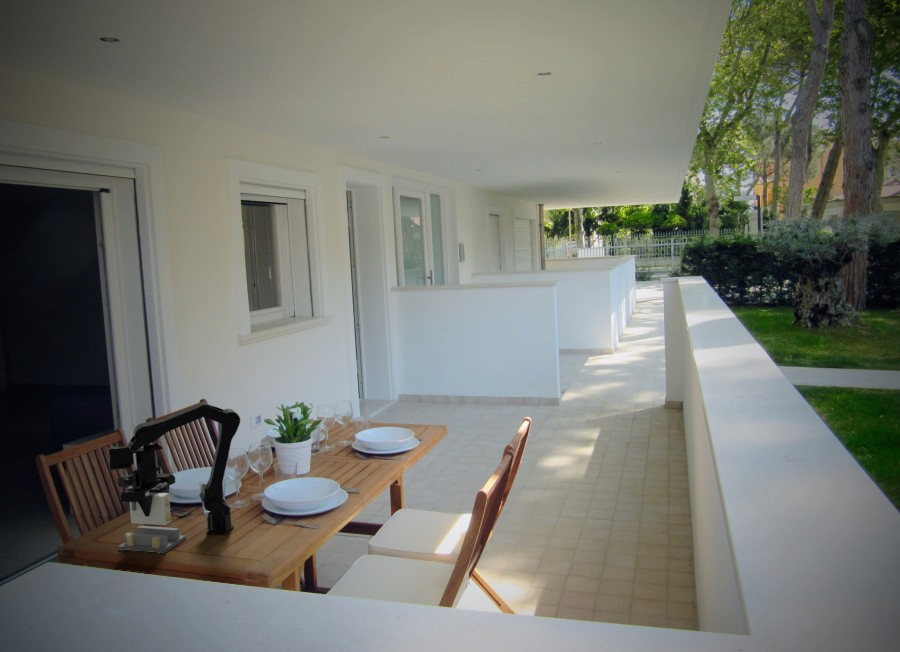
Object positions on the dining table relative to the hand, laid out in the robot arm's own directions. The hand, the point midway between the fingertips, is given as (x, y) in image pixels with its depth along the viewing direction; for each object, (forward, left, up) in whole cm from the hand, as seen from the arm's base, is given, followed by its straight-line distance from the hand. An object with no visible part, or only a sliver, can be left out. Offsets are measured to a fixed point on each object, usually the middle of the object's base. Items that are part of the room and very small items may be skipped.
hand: (150, 514), depth 215 cm
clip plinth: (0, 0, -10) cm, 10 cm away
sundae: (+15, -25, -10) cm, 31 cm away
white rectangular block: (0, 0, -3) cm, 3 cm away
